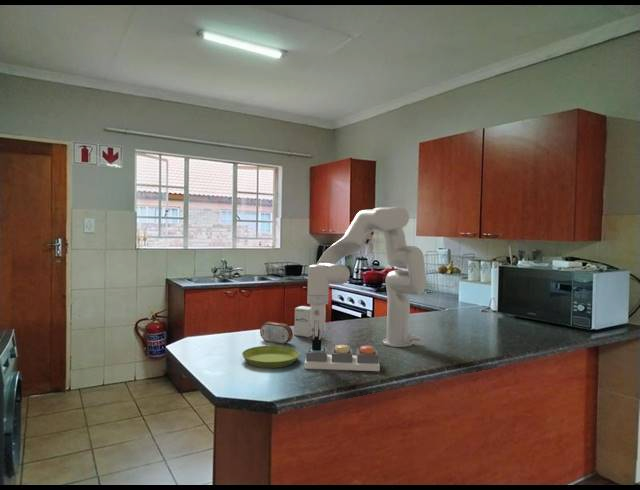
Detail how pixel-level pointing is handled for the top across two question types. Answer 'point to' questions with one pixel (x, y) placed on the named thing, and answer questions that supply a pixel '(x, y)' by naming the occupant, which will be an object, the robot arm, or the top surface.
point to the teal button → (317, 351)
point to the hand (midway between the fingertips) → (316, 349)
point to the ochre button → (342, 349)
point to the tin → (276, 332)
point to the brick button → (366, 350)
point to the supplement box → (302, 321)
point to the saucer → (270, 356)
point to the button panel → (342, 360)
